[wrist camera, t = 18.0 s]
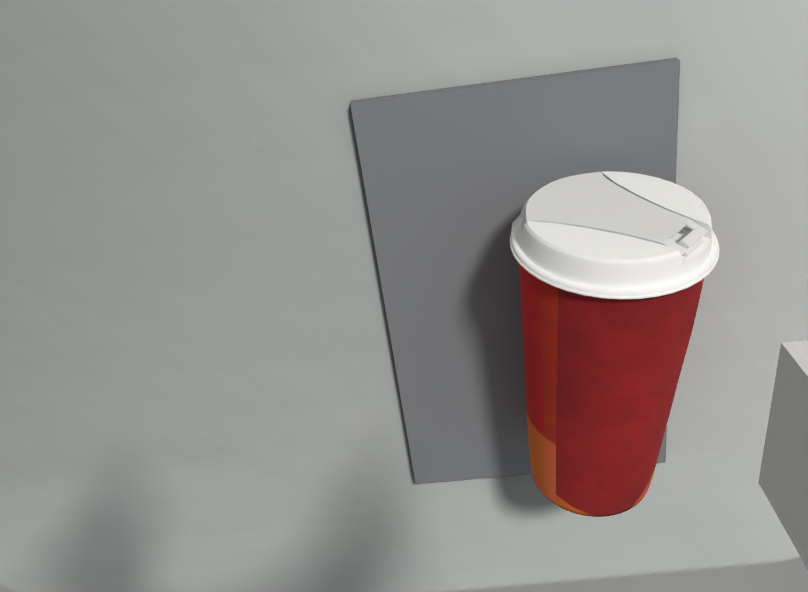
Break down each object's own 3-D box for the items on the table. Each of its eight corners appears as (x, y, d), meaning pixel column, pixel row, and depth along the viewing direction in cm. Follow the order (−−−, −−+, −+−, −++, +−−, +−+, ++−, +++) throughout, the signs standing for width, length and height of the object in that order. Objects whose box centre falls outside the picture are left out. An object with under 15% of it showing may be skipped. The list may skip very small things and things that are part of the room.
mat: (415, 477, 44) (415, 484, 44) (351, 100, 34) (350, 103, 33) (662, 456, 43) (665, 462, 42) (676, 57, 32) (680, 60, 32)
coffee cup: (704, 462, 39) (761, 199, 30) (618, 568, 34) (657, 292, 26) (564, 392, 44) (580, 149, 35) (473, 476, 39) (465, 219, 31)
